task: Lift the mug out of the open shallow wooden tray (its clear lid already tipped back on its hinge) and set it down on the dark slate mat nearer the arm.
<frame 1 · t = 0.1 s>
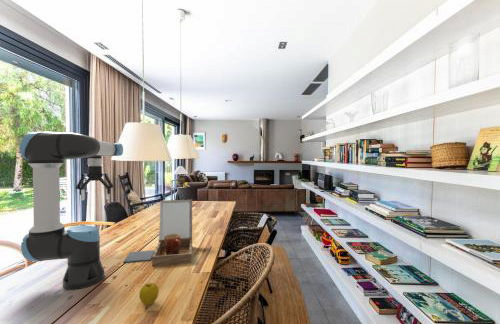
hand: (95, 199, 151), 28 cm above the table, fingers open, 13 cm apart
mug: (174, 255, 134), resting in shallow wooden tray
apple: (149, 304, 89), on the table
lid: (176, 219, 149), point 16 cm above the table, hinge at 110.0°
slate mat: (139, 256, 132), on the table
shallow wooden tray: (174, 255, 134), on the table
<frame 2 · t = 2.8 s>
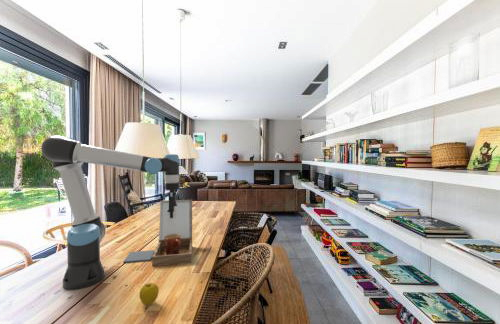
hand: (172, 220, 134), 19 cm above the table, fingers open, 13 cm apart
nothing on the table moved.
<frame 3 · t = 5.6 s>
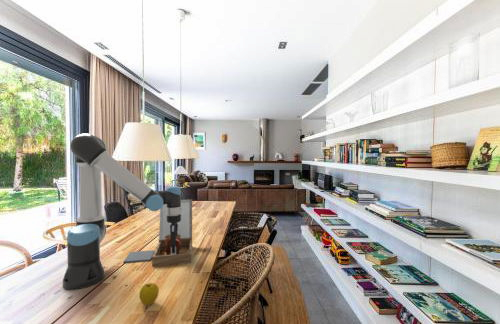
hand: (174, 254, 134), 0 cm above the table, fingers closed on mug, 9 cm apart
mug: (174, 256, 133), resting in shallow wooden tray, touching gripper
everything else where it was.
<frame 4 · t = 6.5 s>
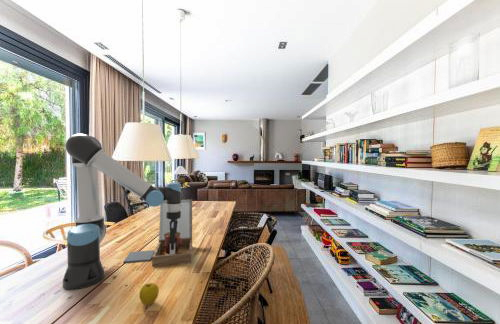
hand: (173, 251, 133), 2 cm above the table, fingers closed on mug, 9 cm apart
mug: (173, 253, 133), point 1 cm above the table, touching gripper
everything else where it was.
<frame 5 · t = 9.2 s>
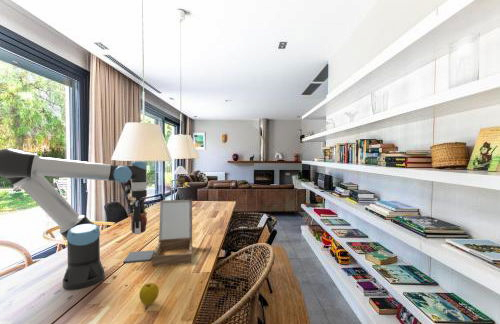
hand: (139, 231, 132), 14 cm above the table, fingers closed on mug, 9 cm apart
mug: (140, 233, 131), point 13 cm above the table, touching gripper
everything else where it was.
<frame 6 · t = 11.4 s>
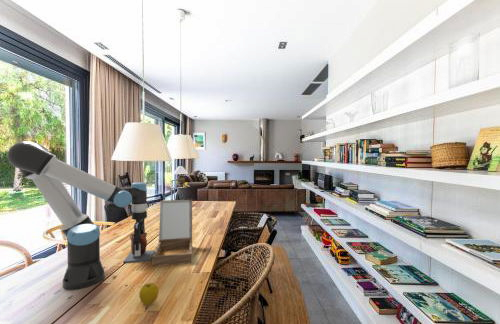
hand: (139, 252, 132), 2 cm above the table, fingers closed on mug, 9 cm apart
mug: (140, 254, 131), point 2 cm above the table, touching gripper
everything else where it was.
when the fingers open (2 cm above the table, at t = 12.0 s): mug moves 1 cm, resting on slate mat.
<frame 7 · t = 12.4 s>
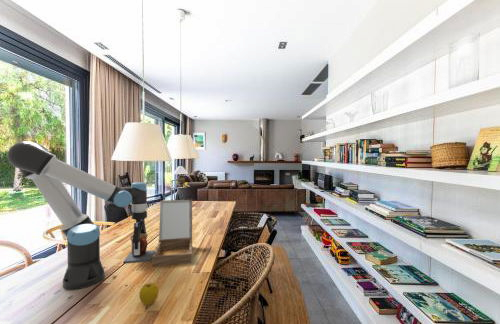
hand: (139, 250, 132), 4 cm above the table, fingers open, 13 cm apart
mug: (140, 255, 132), point 1 cm above the table, touching slate mat
everything else where it was.
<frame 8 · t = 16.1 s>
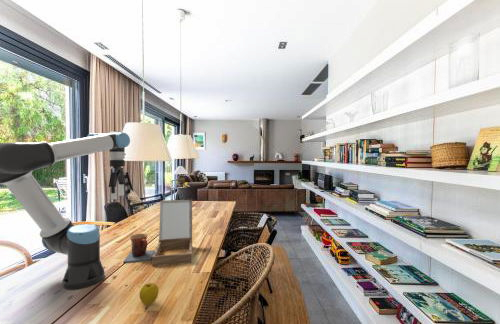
hand: (117, 197, 136), 32 cm above the table, fingers open, 13 cm apart
nothing on the table moved.
at the end: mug inside the target area on the slate mat (0.3 cm from its centre), point 0.6 cm above the slate mat's base; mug tilted 0°; the gripper is holding nothing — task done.
